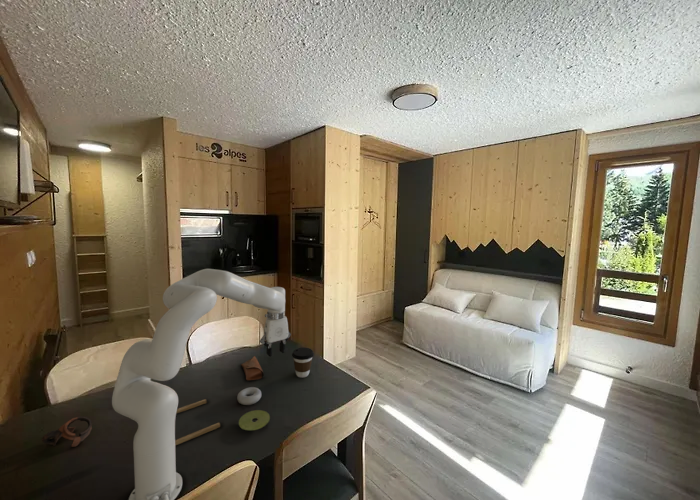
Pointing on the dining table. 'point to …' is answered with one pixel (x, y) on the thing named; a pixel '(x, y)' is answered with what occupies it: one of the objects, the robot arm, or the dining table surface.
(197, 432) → the frame
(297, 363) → the coffee cup
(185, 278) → the robot arm
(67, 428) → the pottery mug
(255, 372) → the sunglasses case
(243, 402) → the donut
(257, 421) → the mat
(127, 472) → the dining table surface
